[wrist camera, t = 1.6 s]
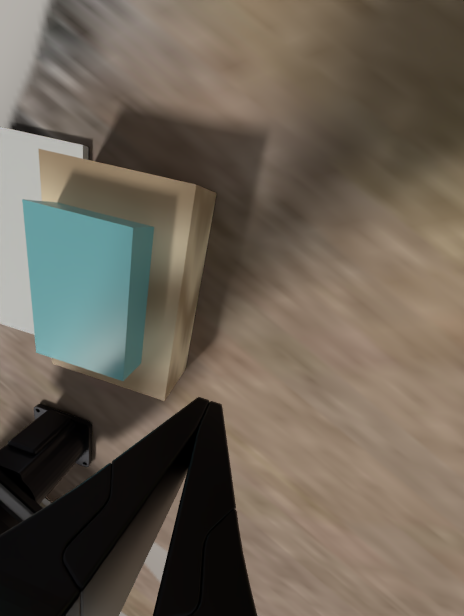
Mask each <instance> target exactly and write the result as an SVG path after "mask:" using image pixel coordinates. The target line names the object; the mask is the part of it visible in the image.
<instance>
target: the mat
mask: <svg viewBox="0 0 464 616" xmlns="http://www.w3.org/2000/svg"><path fill="white" fill-rule="evenodd" d="M38 149H42V150H47V151H51V152H56V153H60V154H64V155H69V156H73V157H77V158H82V159H86V160H88V147H87V146H84V145H80V144H76V143H71V142H67V141H62V140H58V139H53V138H49V137H44V136H40V135H35V134H31V133H26V132H22V131H17V130H12V129H8V128H3V127H0V324H3V325H6V326H9V327H12V328H15V329H18V330H21V331H24V332H27V333H31V334H34V335H35V333H34V322H33V311H32V301H31V290H30V279H29V268H28V257H27V246H26V235H25V224H24V214H23V203H22V199H25V200H36V201H42V197H41V181H40V166H39V150H38Z"/></svg>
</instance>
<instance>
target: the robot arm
mask: <svg viewBox="0 0 464 616" xmlns="http://www.w3.org/2000/svg"><path fill="white" fill-rule="evenodd" d="M34 416H35V420H34V421H33V422H32V423H30V424H29V425H28V426H27V427H25V428H24V429H23V430H22V431H20V432H19V433H18V434H17V435H15V436H14V437H13V438H12V439H10V440H9V441H8V444H7V445H5V446H4V447H3V448H2V449H0V616H119V614H120V612H121V610H122V608H123V606H124V603H125V601H126V599H127V597H128V595H129V593H130V591H131V589H132V587H133V585H134V583H135V580H136V578H137V576H138V574H139V572H140V570H141V568H142V566H143V564H144V562H145V559H146V557H147V555H148V553H149V551H150V549H151V547H152V545H153V543H154V541H155V539H156V537H157V534H158V532H159V530H160V528H161V526H162V524H163V522H164V520H165V518H166V516H167V514H168V512H169V509H170V507H171V505H172V503H173V501H174V499H175V497H176V495H177V493H178V491H179V489H180V486H181V484H182V482H183V480H184V478H185V476H186V479H185V483H184V488H183V492H182V496H181V500H180V504H179V508H178V513H177V517H176V521H175V525H174V529H173V534H172V538H171V542H170V546H169V550H168V555H167V559H166V563H165V567H164V571H163V575H162V580H161V584H160V588H159V592H158V596H157V601H156V605H155V609H154V613H153V616H257V613H256V609H255V604H254V600H253V596H252V592H251V588H250V583H249V579H248V574H247V569H246V565H245V560H244V555H243V550H242V544H241V538H240V532H239V525H238V518H237V511H236V510H235V509H236V504H235V497H234V490H233V482H232V475H231V468H230V460H229V453H228V446H227V438H226V431H225V424H224V416H223V409H222V405H221V404H219V403H216V402H213V401H211V402H209V400H207V399H204V398H201V397H198V398H196V399H195V400H194V401H192V402H191V403H190V404H188V405H187V406H186V407H184V408H183V409H182V410H180V411H179V412H178V413H176V414H175V415H174V416H172V417H171V418H170V419H168V420H167V421H166V422H164V423H163V424H161V425H160V426H159V427H157V428H156V429H155V430H153V431H152V432H151V433H149V434H148V435H147V436H145V437H144V438H143V439H141V440H140V441H139V442H137V443H136V444H135V445H133V446H132V447H131V448H129V449H128V450H127V451H125V452H124V453H123V454H121V455H120V456H119V457H117V458H116V459H115V460H113V461H112V464H111V463H109V464H108V465H106V466H105V467H104V468H102V469H101V470H100V471H98V472H97V473H96V474H94V475H93V476H91V477H90V478H89V479H87V480H86V481H84V482H83V483H82V484H80V485H79V486H77V487H76V488H74V489H73V490H71V491H70V492H68V493H67V494H65V495H63V496H62V497H60V498H59V499H57V500H56V501H54V502H53V503H51V504H49V505H48V506H46V507H45V508H43V507H42V506H40V505H39V504H40V503H41V502H42V501H43V499H44V498H45V497H46V496H47V495H48V494H49V492H50V491H51V490H52V489H53V488H54V487H55V486H56V484H57V483H58V482H59V481H60V480H61V479H62V477H63V476H64V475H65V474H66V473H67V472H68V471H69V469H70V468H71V467H72V466H73V465H74V464H75V463H77V464H79V465H82V466H84V467H88V466H89V465H90V464H91V455H92V425H91V423H90V422H89V421H86V420H83V419H81V418H78V417H75V416H72V415H70V414H67V413H64V412H61V411H58V410H56V409H53V408H50V407H47V406H44V405H42V404H38V405H37V406H35V407H34ZM186 474H187V475H186Z"/></svg>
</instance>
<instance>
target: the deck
mask: <svg viewBox="0 0 464 616" xmlns="http://www.w3.org/2000/svg"><path fill="white" fill-rule="evenodd" d="M38 150H39V166H40V181H41V197H42V201H48V202H58V203H62V204H66V205H70V206H74V207H77V208H81V209H85V210H89V211H93V212H97V213H101V214H105V215H109V216H113V217H117V218H121V219H125V220H129V221H133V222H137V223H141V224H145V225H149V226H153V227H154V234H153V244H152V255H151V265H150V276H149V286H148V297H147V307H146V318H145V328H144V339H143V349H142V360H141V364H140V365H139V366H138V367H137V368H136V369H135V370H134V371H133V372H132V373H131V374H130V375H129V376H128V377H127V378H126V379H125V380H124V381H121V380H118V379H115V378H112V377H109V376H106V375H103V374H100V373H97V372H93V371H90V370H87V369H84V368H81V367H78V366H75V365H72V364H69V363H66V362H63V361H60V360H57V359H54V358H52V364H55V365H58V366H61V367H64V368H67V369H70V370H73V371H76V372H79V373H82V374H85V375H88V376H91V377H94V378H97V379H100V380H103V381H106V382H109V383H112V384H115V385H118V386H121V387H124V388H127V389H130V390H133V391H136V392H139V393H142V394H145V395H148V396H151V397H154V398H157V399H160V400H163V401H165V399H166V398H167V396H168V395H169V393H170V392H171V390H172V389H173V387H174V386H175V384H176V383H177V381H178V380H179V378H180V377H181V375H182V374H183V372H184V371H185V369H186V364H187V358H188V352H189V347H190V341H191V336H192V330H193V324H194V319H195V313H196V307H197V302H198V296H199V290H200V285H201V279H202V273H203V268H204V262H205V257H206V251H207V245H208V240H209V234H210V228H211V223H212V217H213V211H214V206H215V200H216V195H217V193H215V192H213V191H210V190H208V189H205V188H203V187H201V186H198V185H196V184H192V183H187V182H183V181H178V180H174V179H170V178H165V177H161V176H156V175H152V174H148V173H143V172H139V171H135V170H130V169H126V168H121V167H117V166H113V165H108V164H104V163H99V162H95V161H91V160H86V159H82V158H77V157H73V156H69V155H64V154H60V153H56V152H51V151H47V150H42V149H38Z"/></svg>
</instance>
